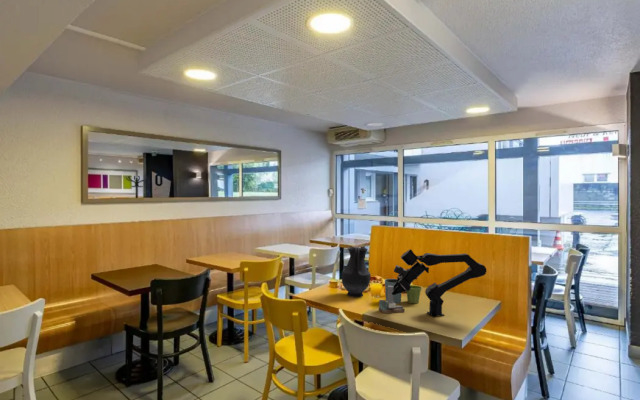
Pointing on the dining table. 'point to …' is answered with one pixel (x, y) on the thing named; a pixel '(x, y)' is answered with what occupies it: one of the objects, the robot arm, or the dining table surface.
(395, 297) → the drinking glass
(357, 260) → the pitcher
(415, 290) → the plant pot
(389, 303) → the carriage
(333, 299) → the dining table surface
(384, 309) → the rail bed
